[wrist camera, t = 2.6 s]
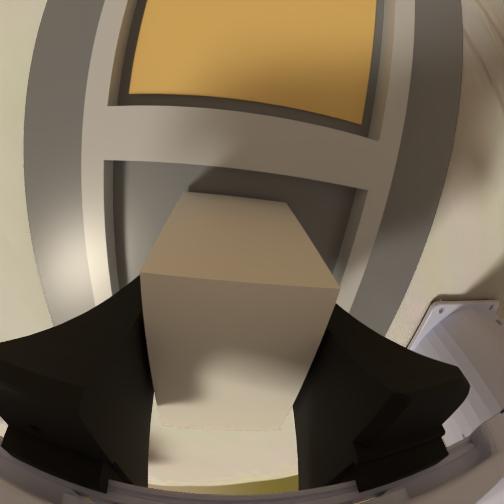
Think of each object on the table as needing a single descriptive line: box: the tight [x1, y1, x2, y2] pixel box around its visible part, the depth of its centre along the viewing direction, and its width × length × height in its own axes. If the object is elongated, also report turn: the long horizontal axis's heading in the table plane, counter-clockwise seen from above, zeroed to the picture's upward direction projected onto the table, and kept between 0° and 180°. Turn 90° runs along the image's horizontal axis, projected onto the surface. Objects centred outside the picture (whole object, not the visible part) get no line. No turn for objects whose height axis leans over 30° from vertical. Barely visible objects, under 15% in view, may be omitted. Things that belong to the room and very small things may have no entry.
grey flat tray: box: [24, 0, 463, 337], centre depth 10 cm, size 20×25×2 cm
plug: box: [140, 191, 341, 431], centre depth 9 cm, size 4×7×6 cm, turn 172°
